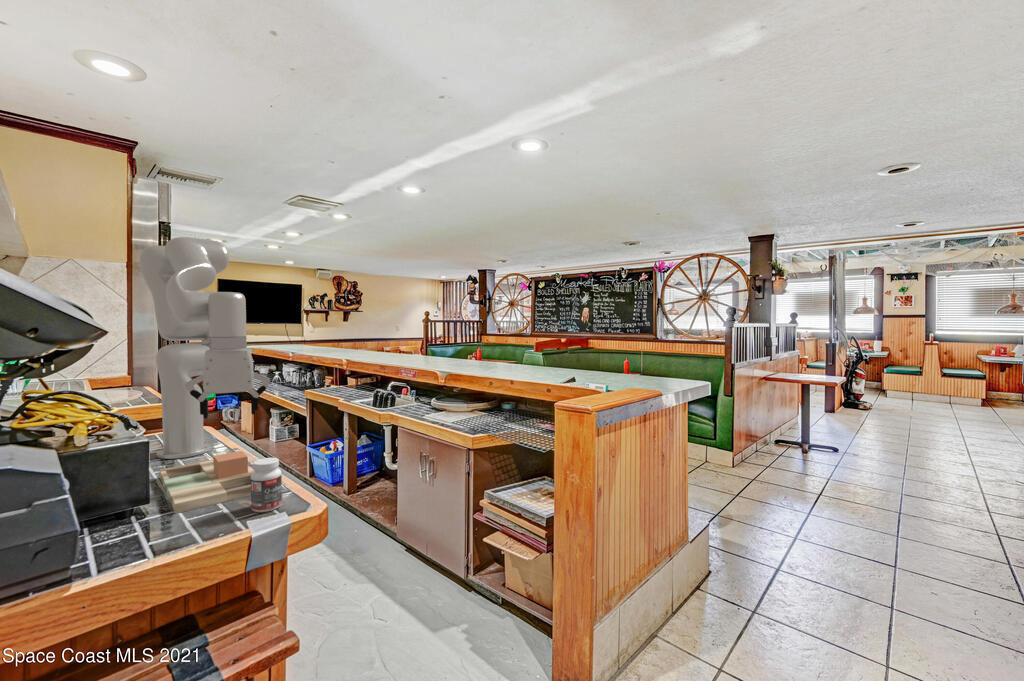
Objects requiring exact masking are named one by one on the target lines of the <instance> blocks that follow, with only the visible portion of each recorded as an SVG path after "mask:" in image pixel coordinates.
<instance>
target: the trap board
mask: <svg viewBox="0 0 1024 681" xmlns="http://www.w3.org/2000/svg"><path fill="white" fill-rule="evenodd" d="M253 472H255V470H254V468H252V466H250V465H249V464H248V473H244V474H239V475H234V476H230V477H225V478H220V479H219V478H218V477H217V476H216V474H215V473H214V464H213V459H211V460H206V461H200V462H195V463H194V462H193V463H188V464H183V465H177V466H172V467H166V468H161V469H159V472H158V473H159V479H160V481H162V482H161V484H162V483H163V484H162V486H163V488H165V489H164V491H165V490H166V491H165V493H166V496H167V495H168V496H167V498H168V500H169V502H170V505H171V507H172V509H173V511H174V514H180V513H183V512H184V513H185V512H187V511H192V510H196V509H200V508H201V509H202V508H205V507H208V506H213V505H218V504H221V503H226V502H230V501H234V500H238V498H239V499H243V498H247V497H249V496H250V497H251V475H252V473H253ZM242 497H243V498H242Z"/></svg>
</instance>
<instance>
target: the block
mask: <svg viewBox="0 0 1024 681" xmlns="http://www.w3.org/2000/svg"><path fill="white" fill-rule="evenodd" d="M248 458H249V457H248V455H247V454H245V453H244V452H243V451H242V450H239V451H232V452H228V453H223V454H216V455H213V459H212V460H213V464H214V473H215V474H216V476H217V477H218V478H219V479H220V478H225V477H230V476H234V475H239V474H244V473H248V465H249V464H248V463H249V460H248Z"/></svg>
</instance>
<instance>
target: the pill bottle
mask: <svg viewBox="0 0 1024 681" xmlns="http://www.w3.org/2000/svg"><path fill="white" fill-rule="evenodd" d="M279 465H280V460H279V458H277V457H265V458H260V459H256V460H255V461H253V463H252V466H253V468H252V469H253V470H254V471H255V472H253V473H252V475H251V496H250V506H251V507H250V508H251V510H252V511H253V512H255V513H269V512H271V511H275V510H277V509H279V508H280V507H281V506H282V503H283V488H282V485H283V484H282V483H283V481H282V479H283V478H282V477H283V476H282V471H281V469H280V468H278V467H279Z"/></svg>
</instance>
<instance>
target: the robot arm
mask: <svg viewBox="0 0 1024 681" xmlns="http://www.w3.org/2000/svg"><path fill="white" fill-rule="evenodd" d="M229 262H230V253H229V251H228V249H227V247H226V246H225V244H223V243H222V242H220V241H218V240H213V239H204V238H195V237H187V236H186V237H185V236H179V237H174V238H172V239H170V240H168V242H167V243H166V244H165V245H150V246H146V247H144V248H143V249H142V251H140V254H139V266H140V272H141V275H142V277H143V280H144V282H145V284H146V286H147V287H148V289H149V291H150V293H151V296H152V298H153V306H154V312H155V320H156V325H157V330H158V333H159V336H160V337H161V338H162V339H163V340H165V341H174V342H175V341H176V342H177V341H179V342H180V341H183V342H184V341H201V343H200V342H199V343H198V342H196V343H195V342H193V343H192V342H191V343H190V342H189V343H173V344H172V343H171V344H167V345H164V346H162V347H161V348H159V349H158V350H157V351H156V355H155V363H156V368H157V372H158V376H159V377H158V378H159V381H160V382H159V383H160V394H161V396H160V398H161V417H162V419H161V420H162V444H163V446H162V448H160V449H159V450H157V452H156V457H157V458H159V459H163V460H167V459H168V460H174V459H175V460H176V459H184V458H189V457H195V456H199V455H202V454H205V453H207V452H209V451H210V450H211V444H210V443H207V442H205V441H204V440H205V439H204V419H205V420H206V419H208V417H209V400H208V398H207V397H208V396H210V395H211V394H212V395H213V394H229V393H230V394H231V393H232V394H233V393H243V392H244V393H245V392H248V393H249V394H250V395H251V397H250V400H251V401H250V406H251V410H250V411H251V415H255V414H256V411H258V410H259V404H258V403H259V397H260V396H261V395H262V394H263V393H264V392H266V390H267V387H268V386H269V384H270V383H271V378H270V377H268V376H265V375H262V374H260V373H257V372H255V371H254V363H253V356H252V351H251V349H249V348H248V346H247V339H248V338H247V309H246V308H247V306H246V305H247V304H246V303H247V301H246V297H245V295H244V294H243V293H241V292H233V291H208V290H207V291H206V290H204V289H207V288H208V287H210V286H211V285H213V284H214V282H215V280H216V278H217V275H218V274H220V273H222V272H223V271H226V269H227V268H228V266H229ZM203 290H204V291H203ZM193 377H195V378H193ZM255 379H256V380H258V381H261V382H262V384H261V386H260V387H258V388H257V389H256V388H255V387H254V385H255ZM201 382H202V388H203V389H202V388H201V386H200V385H199V384H200V383H201Z"/></svg>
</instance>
